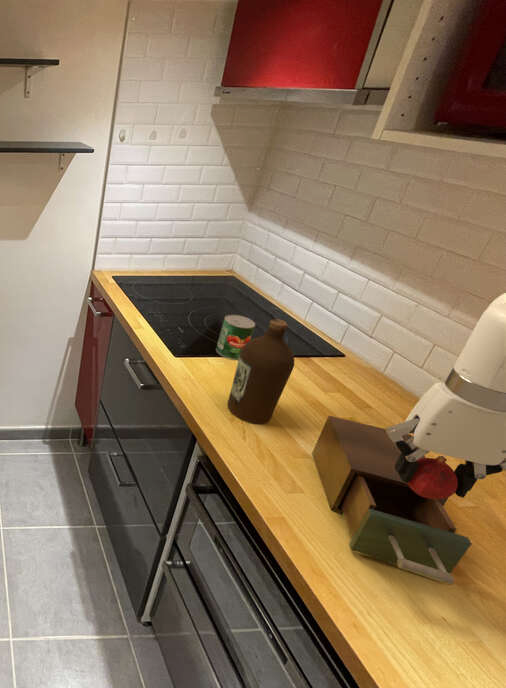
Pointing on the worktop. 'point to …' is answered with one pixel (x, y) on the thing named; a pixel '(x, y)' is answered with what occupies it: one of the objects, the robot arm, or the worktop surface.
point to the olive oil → (261, 375)
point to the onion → (434, 479)
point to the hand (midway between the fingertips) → (428, 482)
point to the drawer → (402, 528)
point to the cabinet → (354, 457)
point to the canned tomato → (234, 336)
